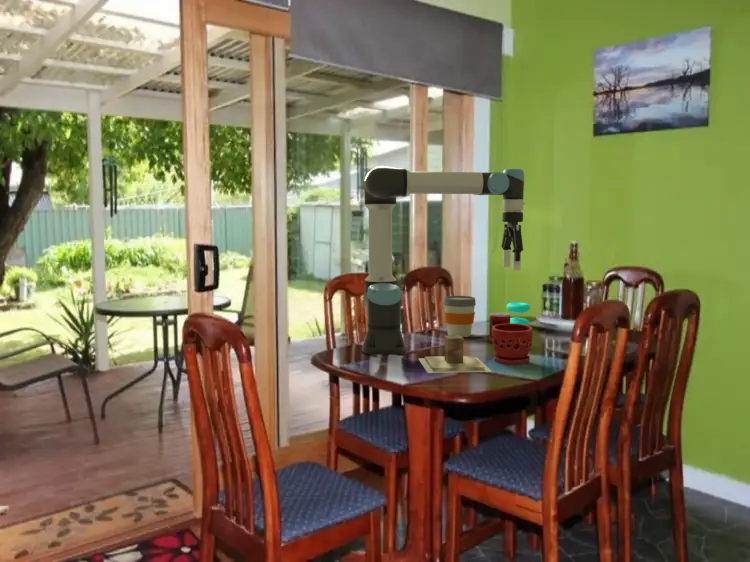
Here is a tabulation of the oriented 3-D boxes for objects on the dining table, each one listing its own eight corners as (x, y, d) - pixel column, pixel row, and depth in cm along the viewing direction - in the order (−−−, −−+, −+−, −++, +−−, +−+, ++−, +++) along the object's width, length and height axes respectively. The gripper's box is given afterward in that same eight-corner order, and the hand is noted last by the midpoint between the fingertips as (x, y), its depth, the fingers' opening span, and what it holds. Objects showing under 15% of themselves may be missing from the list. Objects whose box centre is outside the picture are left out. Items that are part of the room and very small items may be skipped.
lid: (433, 371, 208) (433, 342, 207) (424, 359, 224) (425, 332, 223) (484, 370, 209) (484, 341, 208) (472, 358, 225) (473, 332, 224)
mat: (427, 374, 206) (427, 372, 206) (417, 359, 226) (417, 358, 226) (492, 373, 208) (492, 371, 207) (477, 358, 227) (477, 357, 227)
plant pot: (486, 358, 228) (487, 323, 227) (524, 357, 229) (525, 322, 228) (497, 367, 215) (497, 330, 214) (537, 366, 216) (538, 329, 215)
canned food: (508, 340, 259) (509, 312, 258) (510, 344, 251) (511, 315, 250) (488, 340, 260) (489, 311, 259) (489, 344, 252) (490, 315, 251)
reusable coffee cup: (437, 335, 268) (438, 298, 267) (451, 331, 279) (452, 294, 277) (467, 339, 262) (467, 300, 260) (480, 334, 272) (480, 297, 271)
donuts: (504, 304, 286) (508, 301, 295) (503, 327, 287) (508, 324, 296) (528, 305, 282) (532, 302, 291) (527, 329, 283) (531, 325, 292)
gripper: (533, 211, 238) (531, 271, 241) (513, 211, 263) (512, 265, 265) (512, 211, 238) (510, 271, 240) (494, 211, 263) (493, 265, 265)
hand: (511, 268), depth 253 cm, fingers open, 13 cm apart
